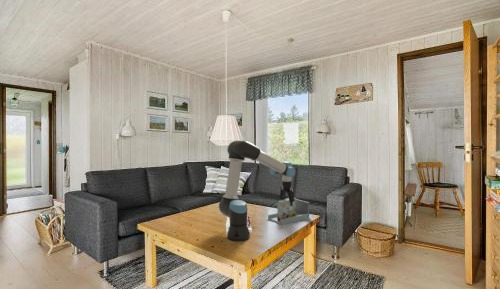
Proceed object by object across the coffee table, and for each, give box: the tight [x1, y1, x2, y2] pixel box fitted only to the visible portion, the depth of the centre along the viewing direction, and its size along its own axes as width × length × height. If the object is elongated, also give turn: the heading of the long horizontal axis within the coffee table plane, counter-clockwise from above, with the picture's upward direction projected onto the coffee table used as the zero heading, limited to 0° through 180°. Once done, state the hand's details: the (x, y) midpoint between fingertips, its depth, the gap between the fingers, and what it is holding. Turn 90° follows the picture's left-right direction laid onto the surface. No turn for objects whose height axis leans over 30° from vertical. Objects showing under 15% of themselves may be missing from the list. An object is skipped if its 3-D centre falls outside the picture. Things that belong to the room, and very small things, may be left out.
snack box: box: [276, 197, 297, 220], centre depth 209 cm, size 21×6×15 cm, turn 140°
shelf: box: [267, 198, 310, 226], centre depth 210 cm, size 30×17×13 cm, turn 124°
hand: (286, 208), depth 209 cm, fingers open, 8 cm apart
